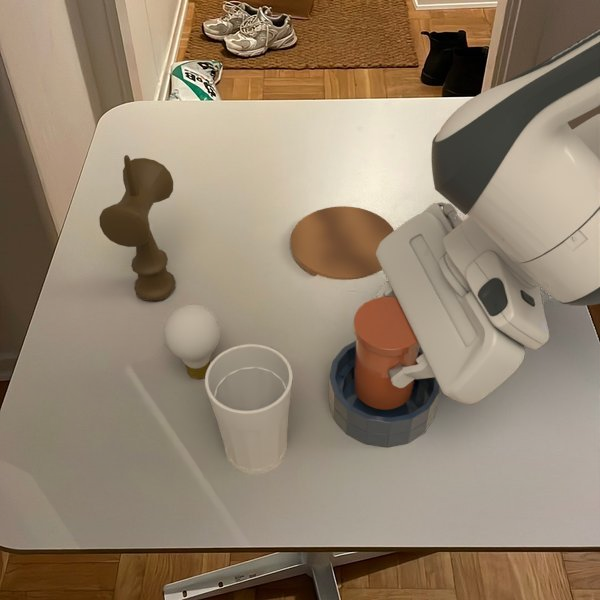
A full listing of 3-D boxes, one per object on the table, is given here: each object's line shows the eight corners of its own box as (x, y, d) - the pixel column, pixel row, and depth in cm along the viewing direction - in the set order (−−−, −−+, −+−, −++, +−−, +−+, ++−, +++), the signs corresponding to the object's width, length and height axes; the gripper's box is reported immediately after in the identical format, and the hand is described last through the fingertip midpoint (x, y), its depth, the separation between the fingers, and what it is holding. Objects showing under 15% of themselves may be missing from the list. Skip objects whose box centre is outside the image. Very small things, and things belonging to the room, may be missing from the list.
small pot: (388, 350, 81) (394, 286, 73) (429, 392, 77) (440, 328, 70) (337, 379, 78) (339, 315, 71) (377, 423, 74) (383, 361, 67)
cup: (202, 446, 76) (187, 373, 67) (263, 404, 80) (256, 330, 71) (249, 499, 72) (239, 429, 63) (311, 453, 75) (310, 380, 67)
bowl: (389, 349, 85) (392, 320, 81) (456, 415, 78) (463, 387, 75) (309, 394, 80) (309, 365, 77) (373, 468, 74) (376, 441, 70)
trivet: (353, 199, 104) (354, 193, 103) (419, 254, 96) (419, 248, 95) (270, 237, 99) (270, 231, 98) (331, 298, 90) (332, 292, 90)
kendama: (189, 265, 95) (166, 132, 81) (167, 320, 88) (139, 185, 74) (144, 260, 96) (114, 127, 81) (120, 314, 89) (82, 180, 75)
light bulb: (235, 363, 84) (228, 302, 76) (209, 402, 80) (199, 342, 73) (190, 347, 85) (179, 286, 78) (163, 384, 82) (148, 324, 74)
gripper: (427, 179, 73) (330, 269, 78) (520, 330, 59) (395, 426, 64) (462, 207, 77) (368, 290, 82) (558, 354, 63) (437, 443, 68)
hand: (380, 351), depth 73 cm, fingers closed on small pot, 6 cm apart
